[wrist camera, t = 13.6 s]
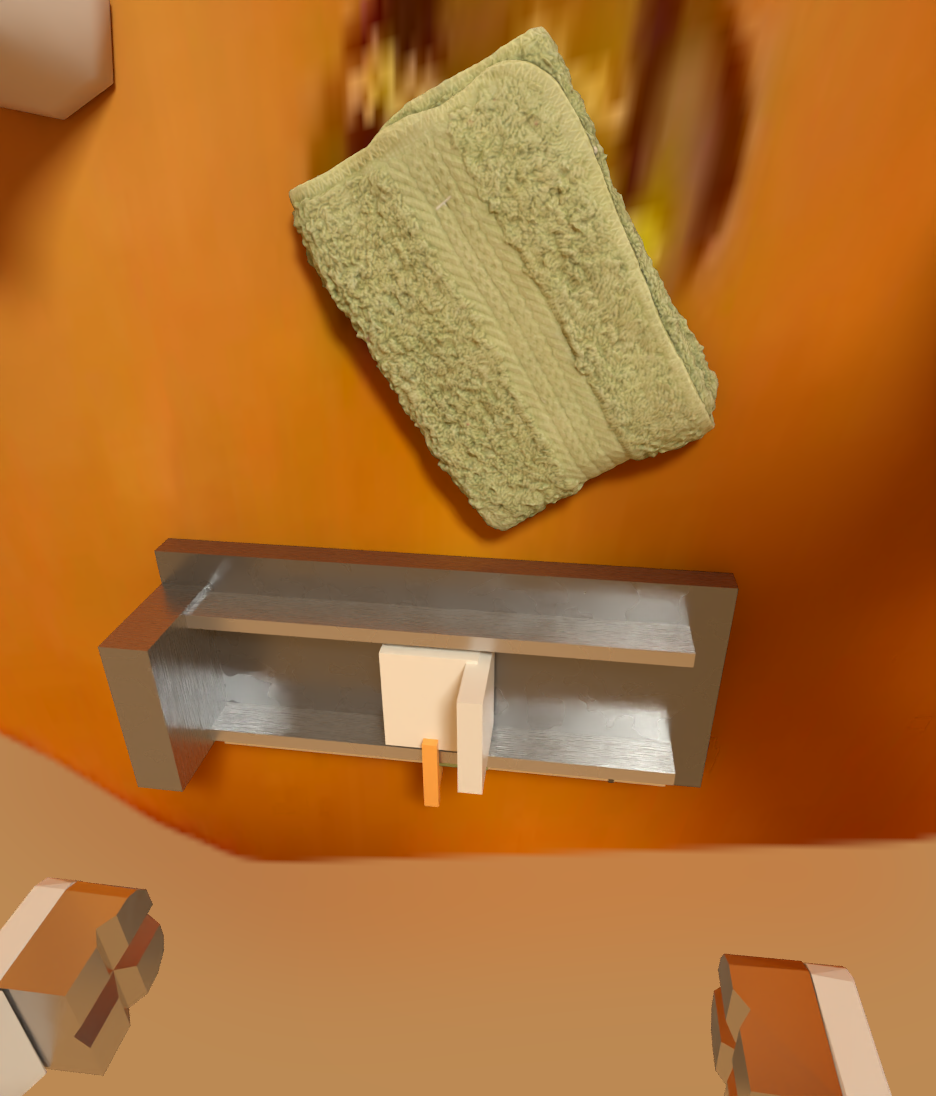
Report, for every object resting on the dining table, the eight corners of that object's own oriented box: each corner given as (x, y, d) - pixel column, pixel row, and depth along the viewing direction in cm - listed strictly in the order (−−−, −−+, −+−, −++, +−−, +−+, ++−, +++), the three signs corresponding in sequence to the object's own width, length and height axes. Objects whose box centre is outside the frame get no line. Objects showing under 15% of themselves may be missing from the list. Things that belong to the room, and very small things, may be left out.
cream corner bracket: (495, 634, 38) (482, 701, 33) (493, 773, 43) (481, 849, 38) (389, 626, 39) (362, 690, 34) (398, 764, 43) (376, 837, 39)
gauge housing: (732, 573, 37) (765, 662, 30) (696, 768, 43) (717, 878, 36) (168, 538, 40) (87, 611, 34) (208, 721, 46) (146, 814, 40)
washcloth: (544, 8, 28) (539, -10, 25) (731, 408, 33) (745, 431, 31) (281, 207, 32) (251, 211, 29) (486, 528, 38) (478, 558, 35)
